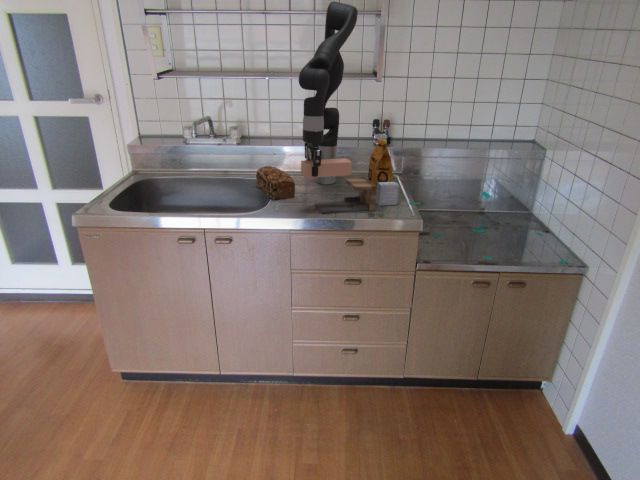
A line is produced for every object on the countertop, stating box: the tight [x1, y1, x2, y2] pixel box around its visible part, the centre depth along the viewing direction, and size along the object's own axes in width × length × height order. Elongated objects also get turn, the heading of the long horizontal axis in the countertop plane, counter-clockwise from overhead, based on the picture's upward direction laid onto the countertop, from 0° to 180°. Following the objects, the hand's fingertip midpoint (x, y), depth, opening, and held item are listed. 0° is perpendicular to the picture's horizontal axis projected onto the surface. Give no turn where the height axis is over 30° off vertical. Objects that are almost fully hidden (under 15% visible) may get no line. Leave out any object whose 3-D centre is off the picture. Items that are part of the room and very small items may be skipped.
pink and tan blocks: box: [314, 176, 376, 215], centre depth 172 cm, size 12×21×10 cm, turn 108°
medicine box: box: [375, 181, 400, 207], centre depth 178 cm, size 8×4×9 cm, turn 102°
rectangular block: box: [300, 157, 353, 179], centre depth 165 cm, size 6×18×5 cm, turn 108°
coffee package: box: [367, 138, 393, 193], centre depth 190 cm, size 10×12×22 cm
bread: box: [255, 165, 296, 201], centre depth 186 cm, size 19×11×10 cm, turn 29°
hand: (312, 173), depth 164 cm, fingers closed on rectangular block, 6 cm apart
